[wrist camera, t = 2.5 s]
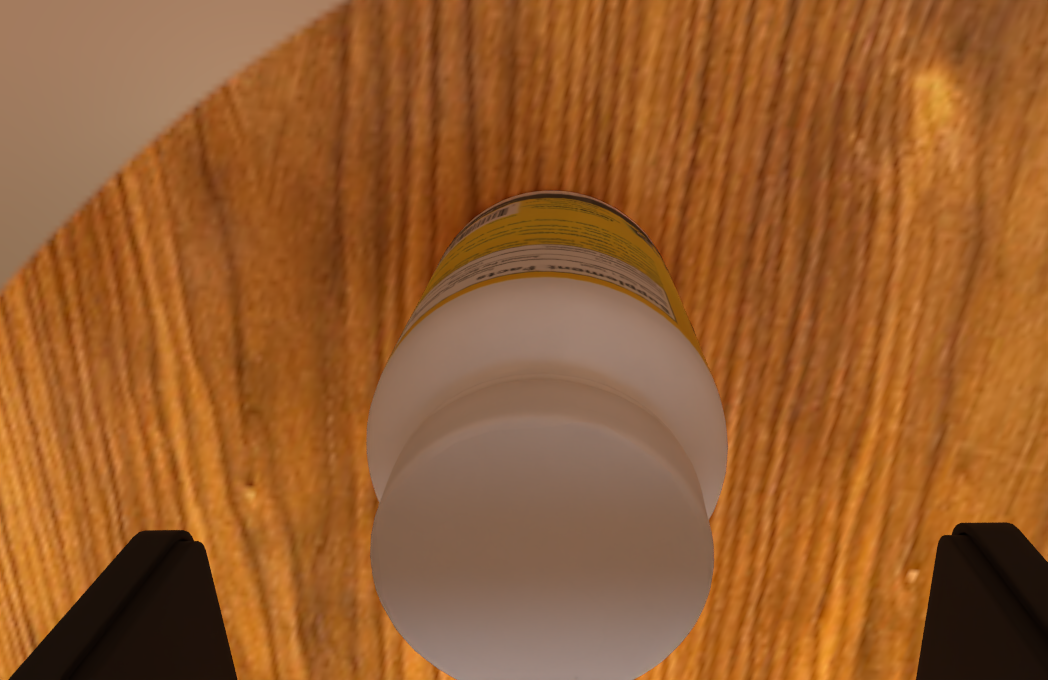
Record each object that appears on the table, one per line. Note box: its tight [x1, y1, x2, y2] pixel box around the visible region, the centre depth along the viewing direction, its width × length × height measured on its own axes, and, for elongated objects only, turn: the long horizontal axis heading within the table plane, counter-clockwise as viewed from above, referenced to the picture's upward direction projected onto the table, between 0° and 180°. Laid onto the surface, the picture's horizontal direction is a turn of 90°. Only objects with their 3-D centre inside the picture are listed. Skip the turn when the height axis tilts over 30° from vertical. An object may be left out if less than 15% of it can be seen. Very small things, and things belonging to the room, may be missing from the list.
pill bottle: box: [367, 191, 728, 680], centre depth 16 cm, size 6×6×11 cm
